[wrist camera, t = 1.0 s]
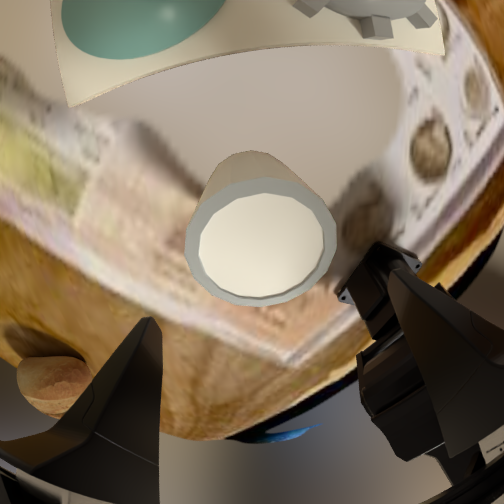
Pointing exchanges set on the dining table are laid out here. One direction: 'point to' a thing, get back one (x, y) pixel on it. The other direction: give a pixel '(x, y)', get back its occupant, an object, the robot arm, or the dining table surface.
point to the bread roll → (53, 382)
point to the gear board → (219, 33)
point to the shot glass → (258, 233)
